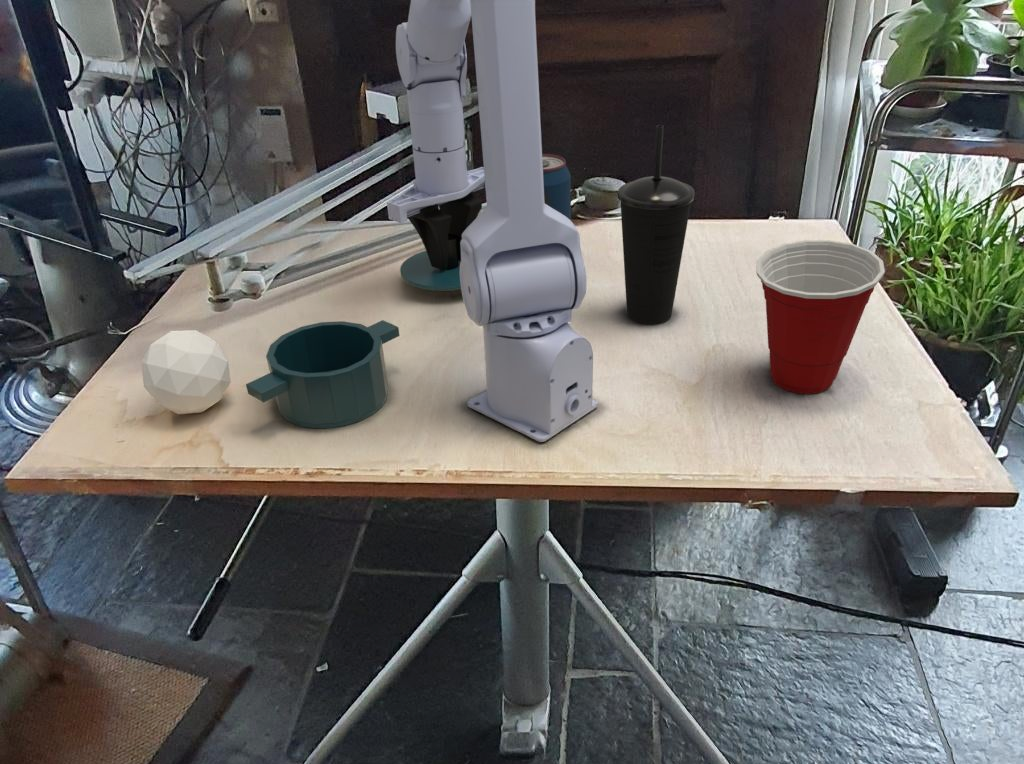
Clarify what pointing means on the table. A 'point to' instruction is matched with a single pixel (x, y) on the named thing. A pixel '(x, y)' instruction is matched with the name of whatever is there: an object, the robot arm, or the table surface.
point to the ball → (185, 371)
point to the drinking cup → (653, 240)
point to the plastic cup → (814, 308)
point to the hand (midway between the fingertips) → (448, 263)
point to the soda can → (557, 184)
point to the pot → (327, 373)
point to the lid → (433, 270)
